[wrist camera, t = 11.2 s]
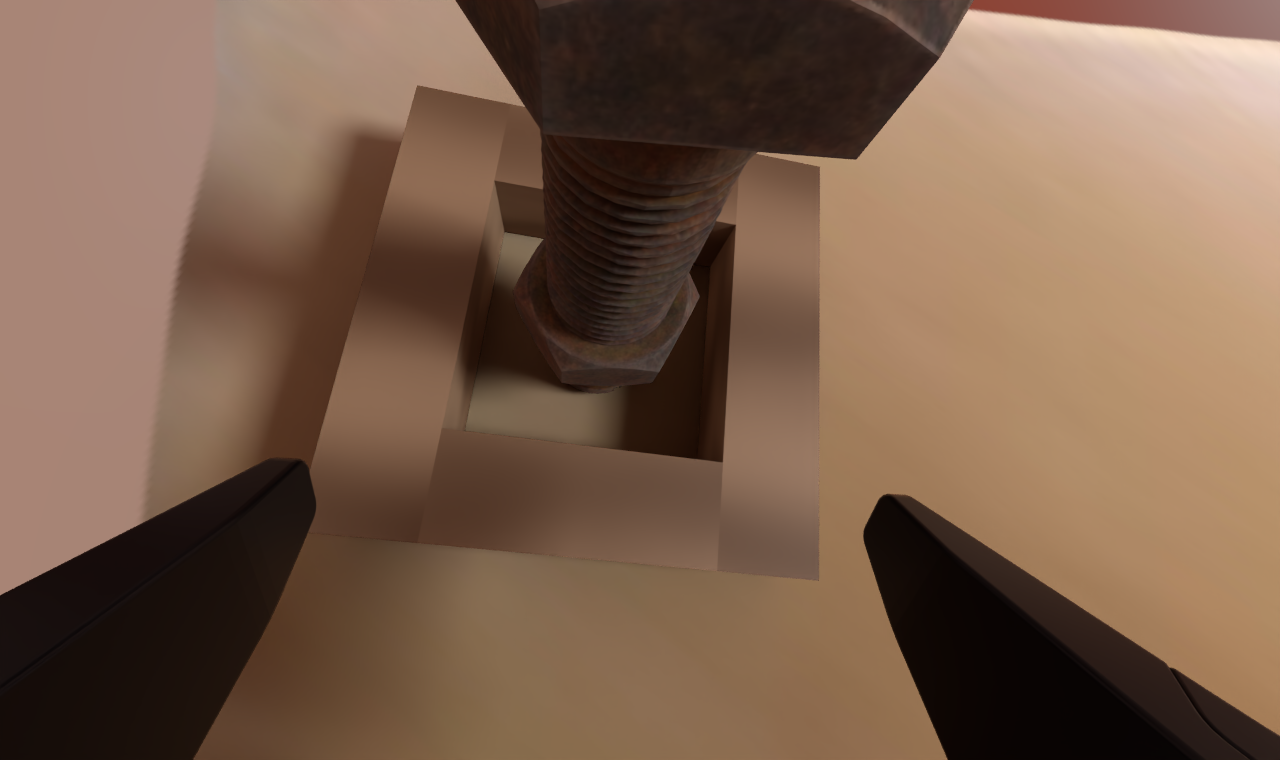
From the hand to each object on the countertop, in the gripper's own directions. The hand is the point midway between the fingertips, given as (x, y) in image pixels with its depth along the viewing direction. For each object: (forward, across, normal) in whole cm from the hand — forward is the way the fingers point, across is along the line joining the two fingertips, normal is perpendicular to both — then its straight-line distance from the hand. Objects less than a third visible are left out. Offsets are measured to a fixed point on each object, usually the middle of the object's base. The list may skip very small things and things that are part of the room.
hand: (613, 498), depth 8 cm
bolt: (+10, 0, +3) cm, 11 cm away
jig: (+10, 0, +2) cm, 11 cm away
